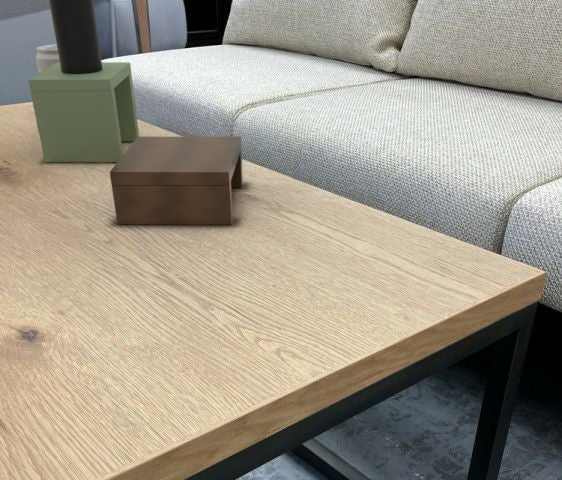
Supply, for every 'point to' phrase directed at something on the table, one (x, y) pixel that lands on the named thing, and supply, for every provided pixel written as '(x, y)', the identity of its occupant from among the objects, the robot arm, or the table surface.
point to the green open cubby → (84, 113)
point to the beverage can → (47, 56)
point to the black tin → (76, 36)
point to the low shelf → (177, 180)
